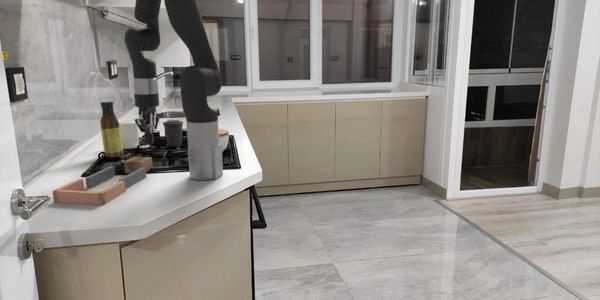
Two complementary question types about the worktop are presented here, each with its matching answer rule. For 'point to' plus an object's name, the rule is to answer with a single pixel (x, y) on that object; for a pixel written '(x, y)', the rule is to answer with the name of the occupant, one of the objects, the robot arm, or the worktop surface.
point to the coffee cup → (173, 132)
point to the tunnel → (110, 173)
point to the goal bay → (87, 193)
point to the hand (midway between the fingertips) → (149, 143)
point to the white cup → (129, 134)
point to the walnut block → (138, 164)
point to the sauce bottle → (110, 131)
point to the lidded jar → (223, 138)
